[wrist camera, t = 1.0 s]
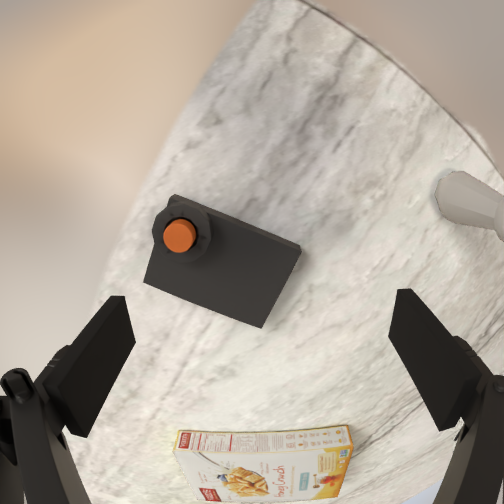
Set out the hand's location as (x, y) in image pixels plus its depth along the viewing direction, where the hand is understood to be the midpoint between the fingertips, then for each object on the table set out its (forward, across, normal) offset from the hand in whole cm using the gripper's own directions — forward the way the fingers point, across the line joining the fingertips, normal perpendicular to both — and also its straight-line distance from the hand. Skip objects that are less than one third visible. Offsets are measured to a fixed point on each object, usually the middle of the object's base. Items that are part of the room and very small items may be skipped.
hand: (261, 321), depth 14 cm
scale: (+19, -4, -4) cm, 20 cm away
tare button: (+16, -7, 0) cm, 17 cm away
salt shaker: (+19, +22, +3) cm, 29 cm away
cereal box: (+19, 0, -44) cm, 48 cm away
